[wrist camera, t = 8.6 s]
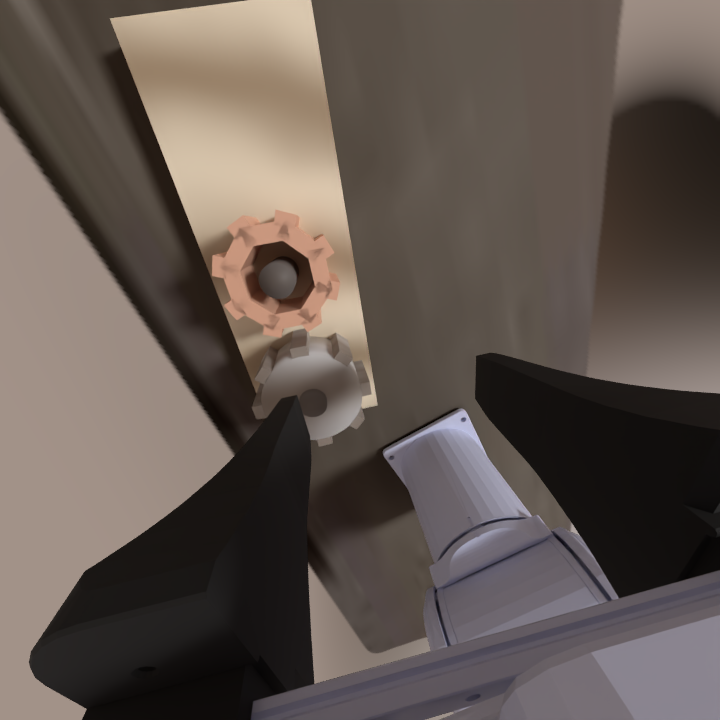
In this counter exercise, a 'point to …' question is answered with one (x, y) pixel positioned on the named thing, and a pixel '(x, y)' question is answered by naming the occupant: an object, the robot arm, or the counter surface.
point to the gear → (245, 283)
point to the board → (259, 182)
